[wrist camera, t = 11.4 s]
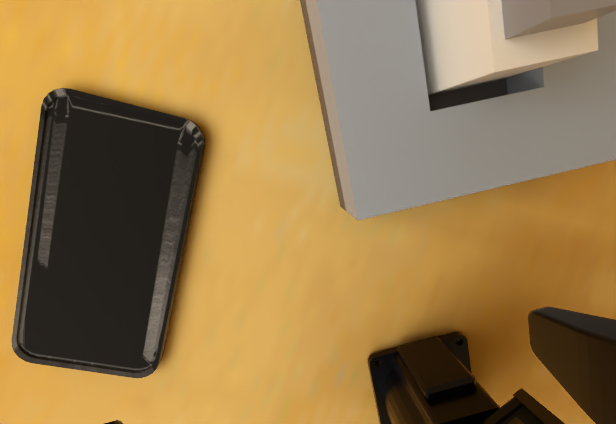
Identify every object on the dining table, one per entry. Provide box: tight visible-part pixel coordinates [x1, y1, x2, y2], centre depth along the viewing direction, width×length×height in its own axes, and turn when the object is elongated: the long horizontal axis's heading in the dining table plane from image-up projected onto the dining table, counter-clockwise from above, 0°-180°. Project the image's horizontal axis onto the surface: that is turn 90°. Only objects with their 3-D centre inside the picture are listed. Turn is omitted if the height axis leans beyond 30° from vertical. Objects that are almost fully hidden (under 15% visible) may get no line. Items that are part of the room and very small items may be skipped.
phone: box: [12, 88, 205, 378], centre depth 19 cm, size 8×1×15 cm
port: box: [300, 0, 616, 220], centre depth 17 cm, size 16×14×4 cm
